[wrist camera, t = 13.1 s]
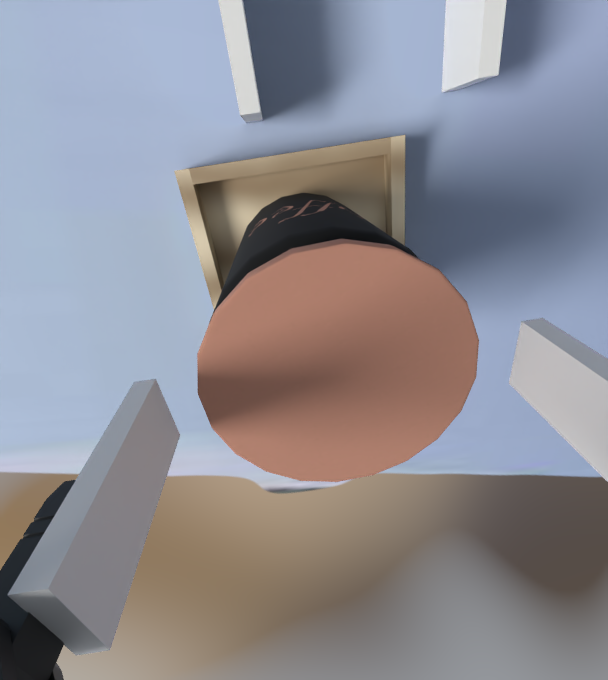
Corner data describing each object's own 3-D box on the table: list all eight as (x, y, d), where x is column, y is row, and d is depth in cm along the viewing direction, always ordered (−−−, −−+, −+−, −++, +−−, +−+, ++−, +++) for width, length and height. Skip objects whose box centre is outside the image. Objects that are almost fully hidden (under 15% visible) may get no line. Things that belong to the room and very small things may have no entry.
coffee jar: (386, 214, 27) (539, 291, 12) (341, 329, 32) (408, 498, 16) (255, 172, 25) (225, 195, 9) (228, 302, 30) (176, 464, 14)
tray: (182, 169, 26) (174, 171, 23) (394, 136, 26) (405, 135, 23) (233, 352, 33) (230, 365, 31) (395, 326, 33) (404, 338, 31)
